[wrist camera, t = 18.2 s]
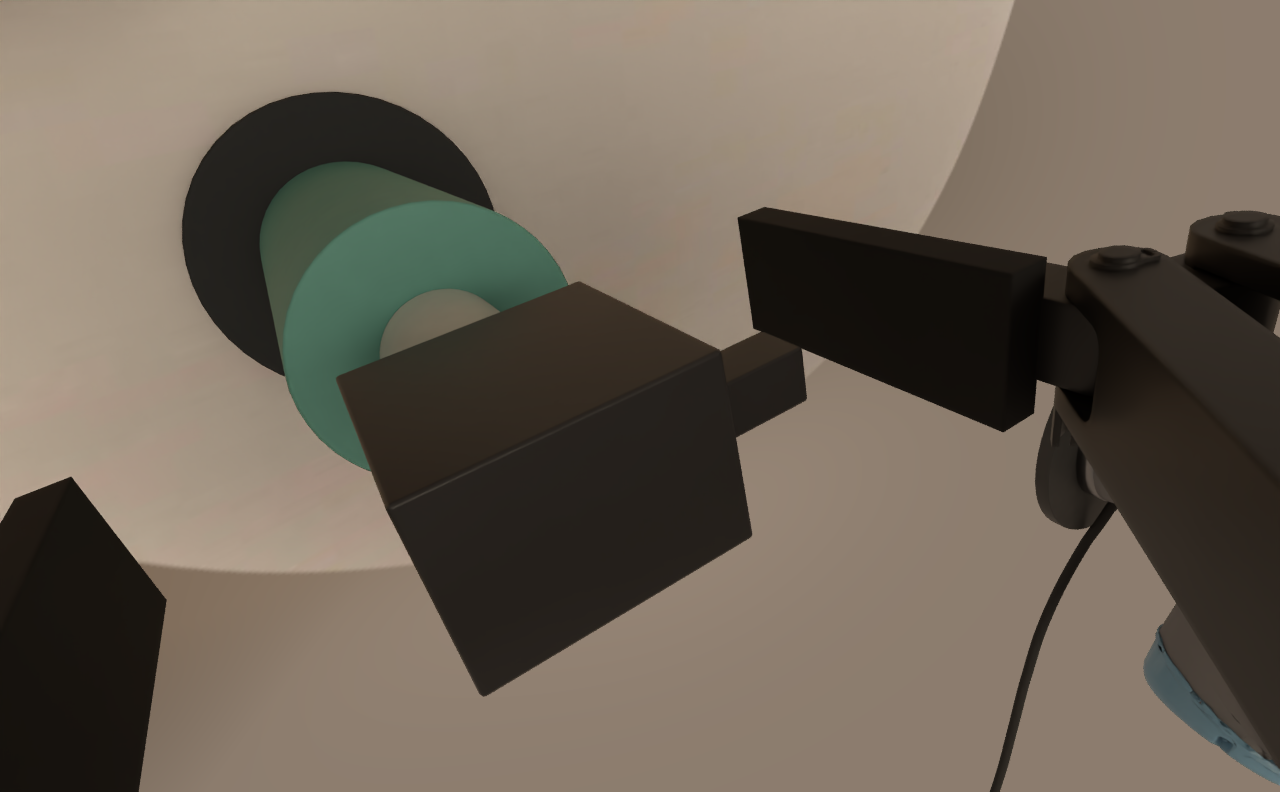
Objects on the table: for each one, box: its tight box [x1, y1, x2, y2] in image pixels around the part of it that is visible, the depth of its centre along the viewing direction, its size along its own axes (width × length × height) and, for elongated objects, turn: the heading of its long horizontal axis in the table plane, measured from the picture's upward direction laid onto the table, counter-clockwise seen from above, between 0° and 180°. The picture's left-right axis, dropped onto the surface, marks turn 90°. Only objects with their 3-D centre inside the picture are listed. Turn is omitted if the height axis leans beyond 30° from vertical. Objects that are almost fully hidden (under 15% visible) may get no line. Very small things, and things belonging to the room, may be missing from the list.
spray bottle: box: [260, 161, 807, 696], centre depth 17 cm, size 7×6×21 cm
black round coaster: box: [182, 92, 494, 376], centre depth 26 cm, size 11×11×1 cm
